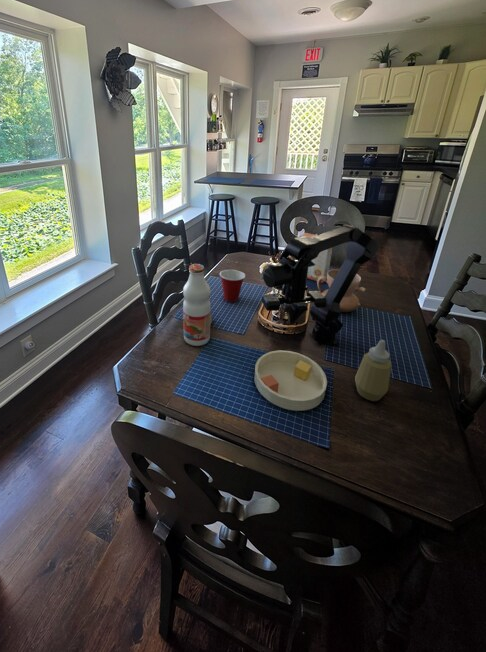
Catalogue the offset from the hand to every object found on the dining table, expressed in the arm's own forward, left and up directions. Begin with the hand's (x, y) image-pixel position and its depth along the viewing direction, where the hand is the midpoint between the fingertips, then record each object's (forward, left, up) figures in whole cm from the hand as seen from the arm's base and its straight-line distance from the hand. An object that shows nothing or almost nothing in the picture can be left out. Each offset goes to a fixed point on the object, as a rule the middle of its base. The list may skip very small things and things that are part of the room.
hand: (290, 323), depth 102 cm
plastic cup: (+13, -35, -11) cm, 39 cm away
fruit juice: (+30, -9, -11) cm, 33 cm away
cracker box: (-29, -52, -11) cm, 61 cm away
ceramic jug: (-29, -26, -11) cm, 41 cm away
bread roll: (+28, -19, -11) cm, 35 cm away
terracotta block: (+11, +17, -10) cm, 22 cm away
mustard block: (0, +12, -10) cm, 16 cm away
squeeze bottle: (-16, +19, -11) cm, 28 cm away
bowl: (+5, +14, -11) cm, 18 cm away
